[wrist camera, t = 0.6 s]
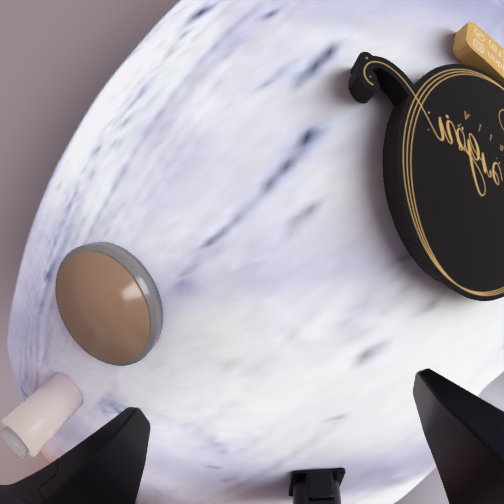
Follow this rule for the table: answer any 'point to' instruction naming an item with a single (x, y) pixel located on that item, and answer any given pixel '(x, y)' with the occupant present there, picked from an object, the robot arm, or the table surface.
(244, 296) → the table surface
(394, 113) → the decorative sign
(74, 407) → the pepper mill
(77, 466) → the robot arm
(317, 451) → the table surface
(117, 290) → the display plinth
